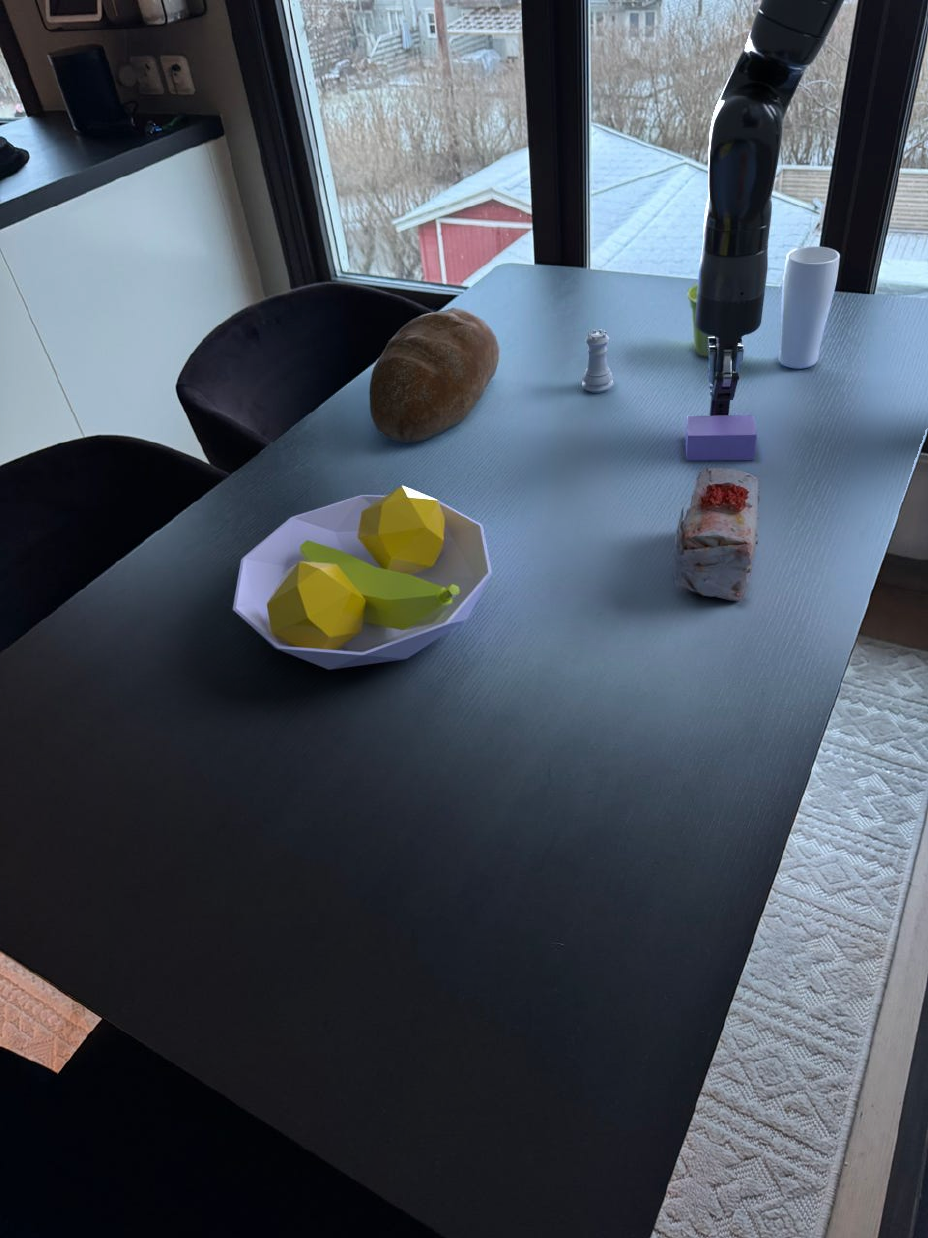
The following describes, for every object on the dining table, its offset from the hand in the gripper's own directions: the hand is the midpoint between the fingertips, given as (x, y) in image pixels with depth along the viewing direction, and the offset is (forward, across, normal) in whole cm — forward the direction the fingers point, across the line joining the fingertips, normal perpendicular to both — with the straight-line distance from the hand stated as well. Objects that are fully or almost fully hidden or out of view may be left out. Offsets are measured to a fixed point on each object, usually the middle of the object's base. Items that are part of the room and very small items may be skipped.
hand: (718, 421), depth 113 cm
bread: (+2, +11, +39) cm, 41 cm away
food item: (+2, -28, +2) cm, 28 cm away
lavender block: (+2, -4, 0) cm, 5 cm away
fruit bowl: (+2, -38, +36) cm, 52 cm away
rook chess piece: (+2, +14, +16) cm, 21 cm away
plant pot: (+2, +25, -1) cm, 25 cm away
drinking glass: (+2, +20, -12) cm, 23 cm away
